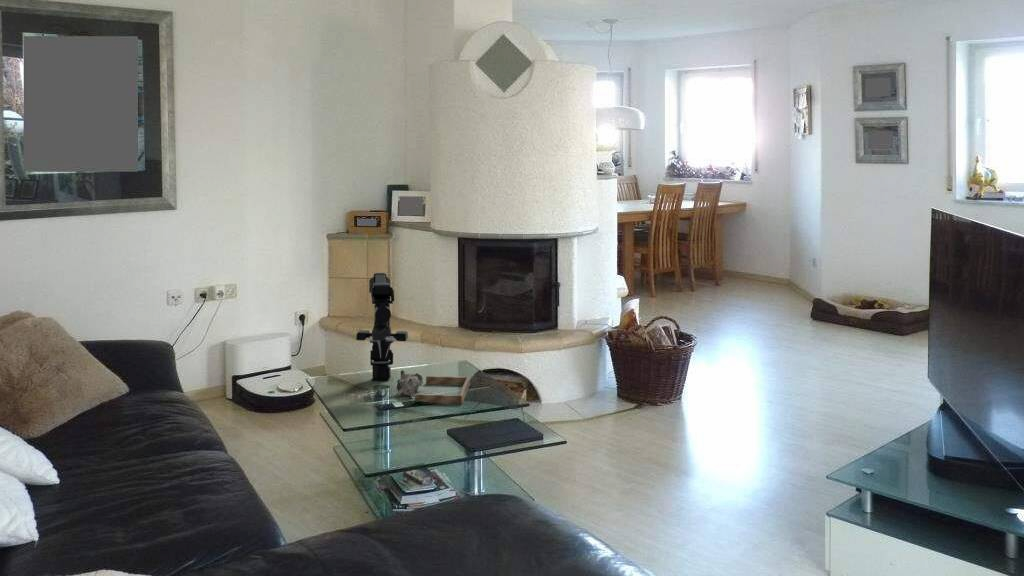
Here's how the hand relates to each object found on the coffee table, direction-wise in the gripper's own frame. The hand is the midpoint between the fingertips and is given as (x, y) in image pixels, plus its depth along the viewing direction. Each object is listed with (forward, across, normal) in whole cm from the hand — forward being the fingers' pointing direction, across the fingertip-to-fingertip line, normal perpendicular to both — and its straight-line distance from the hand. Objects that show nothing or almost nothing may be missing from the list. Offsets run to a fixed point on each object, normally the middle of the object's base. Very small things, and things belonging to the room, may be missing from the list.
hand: (382, 358), depth 350 cm
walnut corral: (+13, +22, 0) cm, 26 cm away
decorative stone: (+13, +10, -1) cm, 17 cm away
